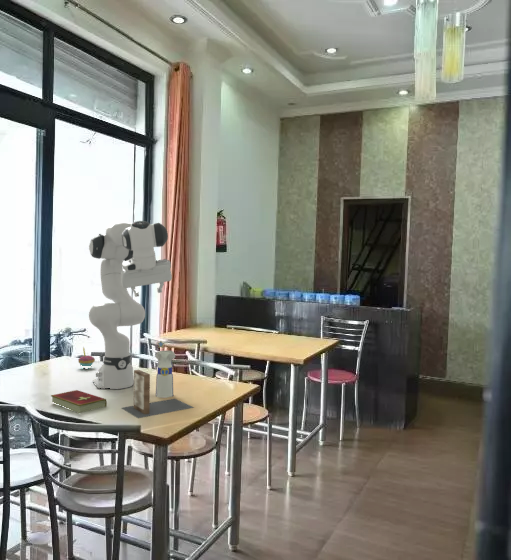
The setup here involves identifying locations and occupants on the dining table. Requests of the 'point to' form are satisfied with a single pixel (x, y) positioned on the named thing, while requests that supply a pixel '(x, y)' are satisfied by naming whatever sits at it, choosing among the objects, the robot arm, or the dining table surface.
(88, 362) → the cupcake
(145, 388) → the board
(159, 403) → the mat
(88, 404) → the hardcover book
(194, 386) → the dining table surface
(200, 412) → the dining table surface
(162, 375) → the grey tall piece
